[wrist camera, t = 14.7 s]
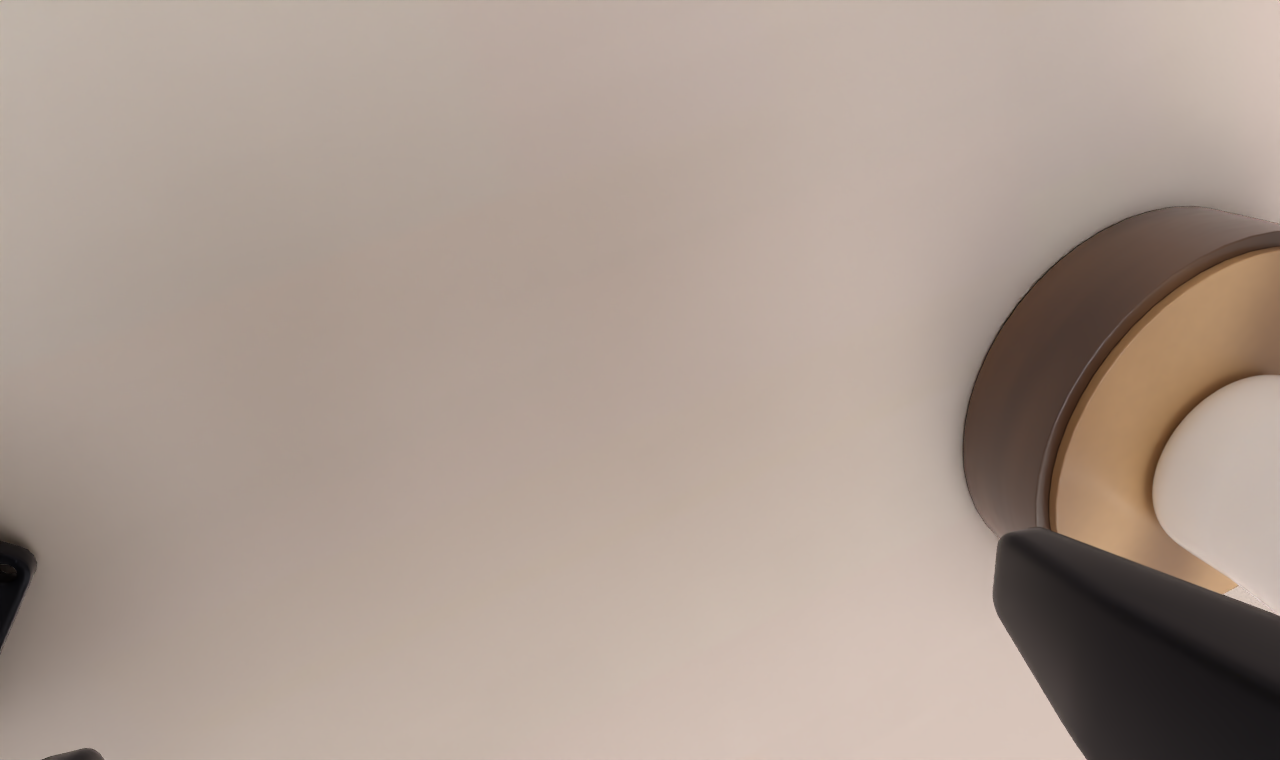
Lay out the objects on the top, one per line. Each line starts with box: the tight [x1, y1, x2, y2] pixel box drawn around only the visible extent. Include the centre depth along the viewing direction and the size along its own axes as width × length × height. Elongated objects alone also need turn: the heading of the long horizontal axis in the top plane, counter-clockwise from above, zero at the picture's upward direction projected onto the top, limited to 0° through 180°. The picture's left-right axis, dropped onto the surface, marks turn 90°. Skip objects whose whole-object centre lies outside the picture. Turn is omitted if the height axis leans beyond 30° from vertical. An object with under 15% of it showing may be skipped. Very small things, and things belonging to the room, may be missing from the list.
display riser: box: [963, 206, 1280, 594], centre depth 25 cm, size 12×12×4 cm
